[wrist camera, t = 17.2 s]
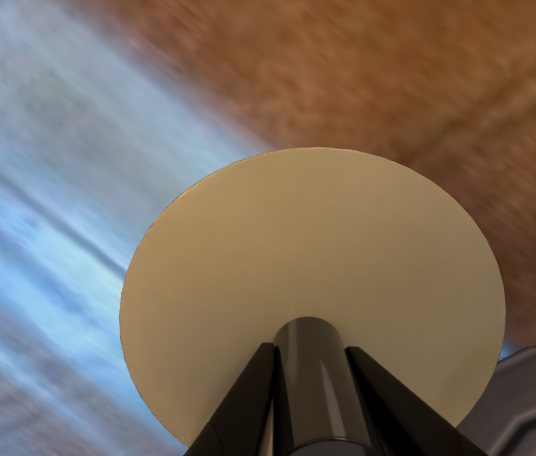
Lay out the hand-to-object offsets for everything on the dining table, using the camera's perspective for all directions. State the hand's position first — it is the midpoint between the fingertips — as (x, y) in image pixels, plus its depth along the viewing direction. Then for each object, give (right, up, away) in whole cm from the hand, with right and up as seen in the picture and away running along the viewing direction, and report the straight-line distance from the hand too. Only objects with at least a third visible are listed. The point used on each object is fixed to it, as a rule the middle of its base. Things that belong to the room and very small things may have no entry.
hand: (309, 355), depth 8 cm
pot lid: (0, 0, +1) cm, 1 cm away
